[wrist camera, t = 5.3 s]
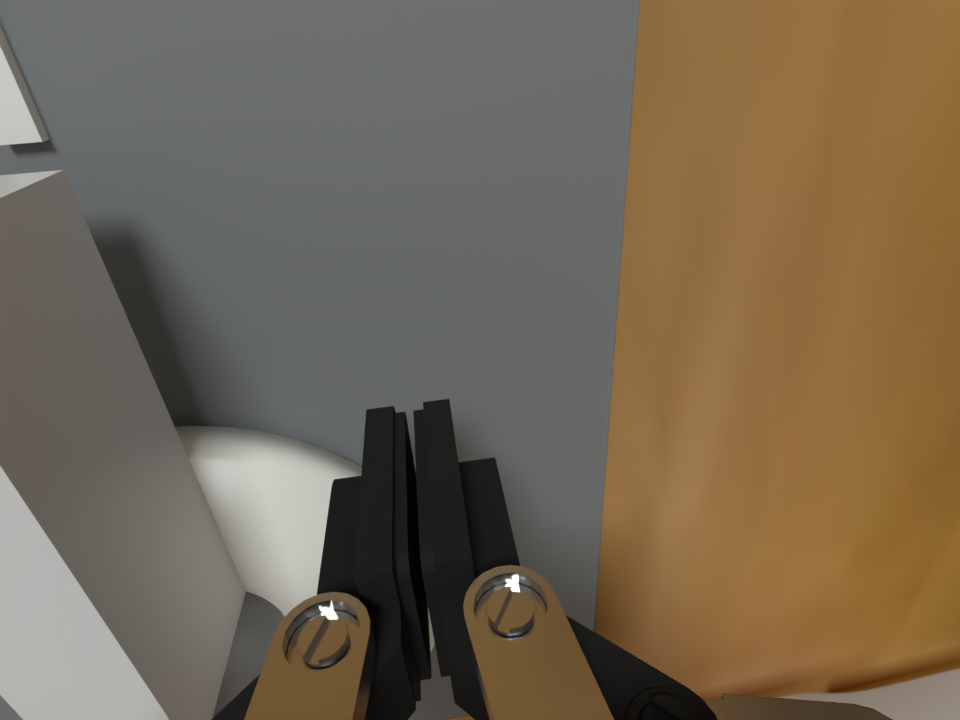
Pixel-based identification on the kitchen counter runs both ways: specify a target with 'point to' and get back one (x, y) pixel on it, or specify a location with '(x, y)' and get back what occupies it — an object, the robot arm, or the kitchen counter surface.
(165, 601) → the dial
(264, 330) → the dial board
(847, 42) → the kitchen counter surface
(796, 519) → the kitchen counter surface
